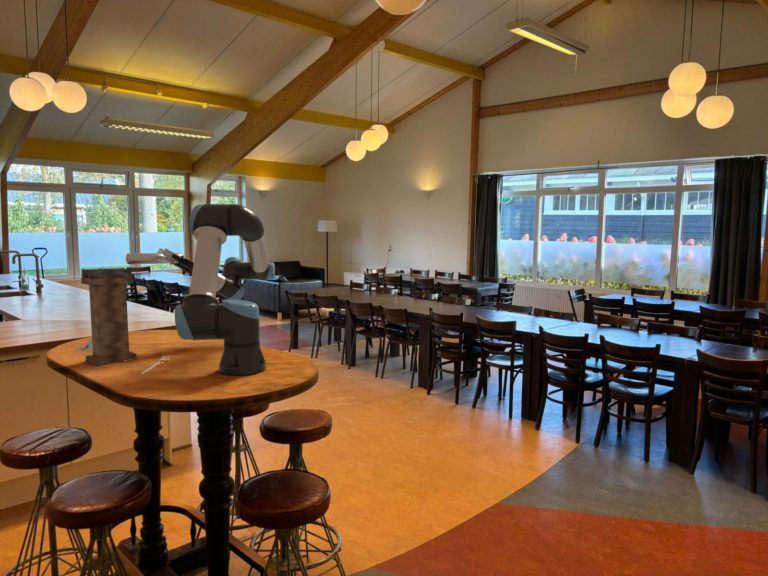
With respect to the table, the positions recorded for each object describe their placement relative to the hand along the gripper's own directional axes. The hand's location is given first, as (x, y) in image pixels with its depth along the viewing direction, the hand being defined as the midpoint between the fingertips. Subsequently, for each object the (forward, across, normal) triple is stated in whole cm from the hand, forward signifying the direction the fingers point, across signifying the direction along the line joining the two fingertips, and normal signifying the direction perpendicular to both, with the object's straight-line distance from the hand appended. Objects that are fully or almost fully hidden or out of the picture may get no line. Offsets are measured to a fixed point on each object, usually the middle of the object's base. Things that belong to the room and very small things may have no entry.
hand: (161, 251), depth 203 cm
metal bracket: (-7, +24, -42) cm, 49 cm away
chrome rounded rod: (0, 0, -5) cm, 5 cm away
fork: (-9, -21, -41) cm, 47 cm away
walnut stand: (-2, -1, -44) cm, 44 cm away
